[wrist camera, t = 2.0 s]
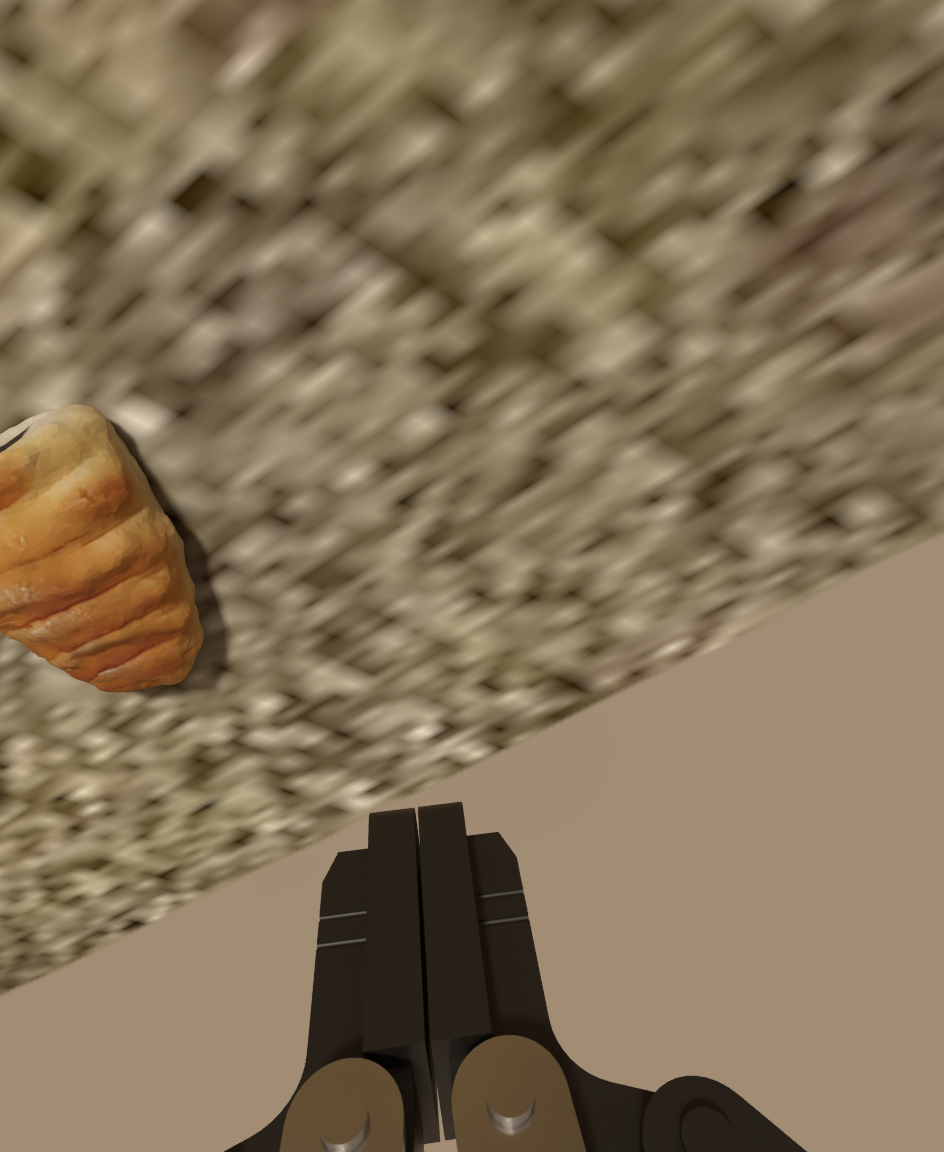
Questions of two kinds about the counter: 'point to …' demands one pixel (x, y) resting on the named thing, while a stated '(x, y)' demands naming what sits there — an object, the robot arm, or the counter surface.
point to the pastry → (91, 557)
